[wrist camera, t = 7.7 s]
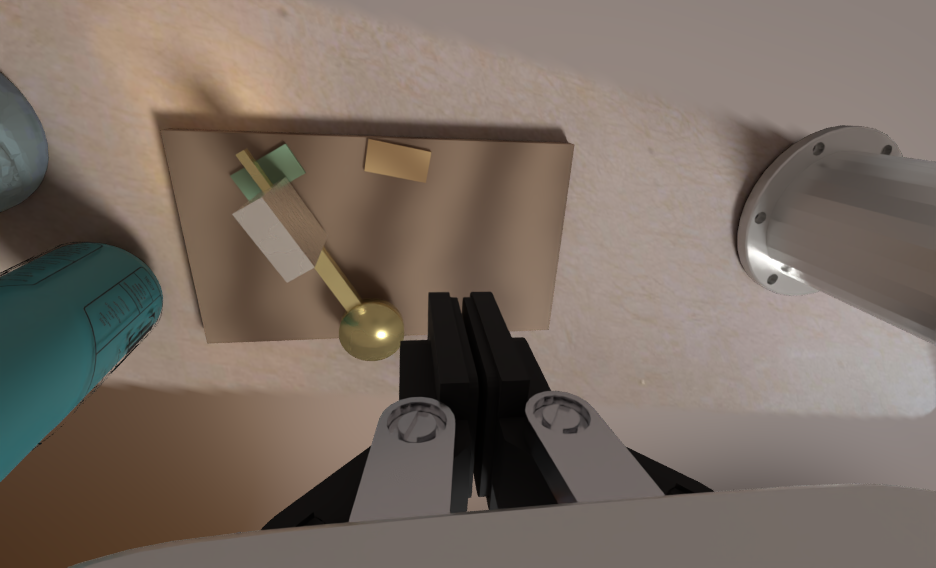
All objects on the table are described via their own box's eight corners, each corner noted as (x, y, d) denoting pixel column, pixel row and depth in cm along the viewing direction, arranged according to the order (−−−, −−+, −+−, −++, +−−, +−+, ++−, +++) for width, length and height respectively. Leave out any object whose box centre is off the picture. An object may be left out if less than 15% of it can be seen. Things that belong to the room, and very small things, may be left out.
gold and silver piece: (414, 328, 30) (418, 372, 25) (363, 355, 30) (358, 404, 25) (279, 130, 24) (252, 140, 19) (216, 166, 24) (175, 185, 19)
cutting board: (568, 142, 28) (580, 146, 26) (544, 323, 33) (553, 336, 31) (169, 128, 24) (150, 132, 22) (213, 335, 29) (201, 351, 27)
